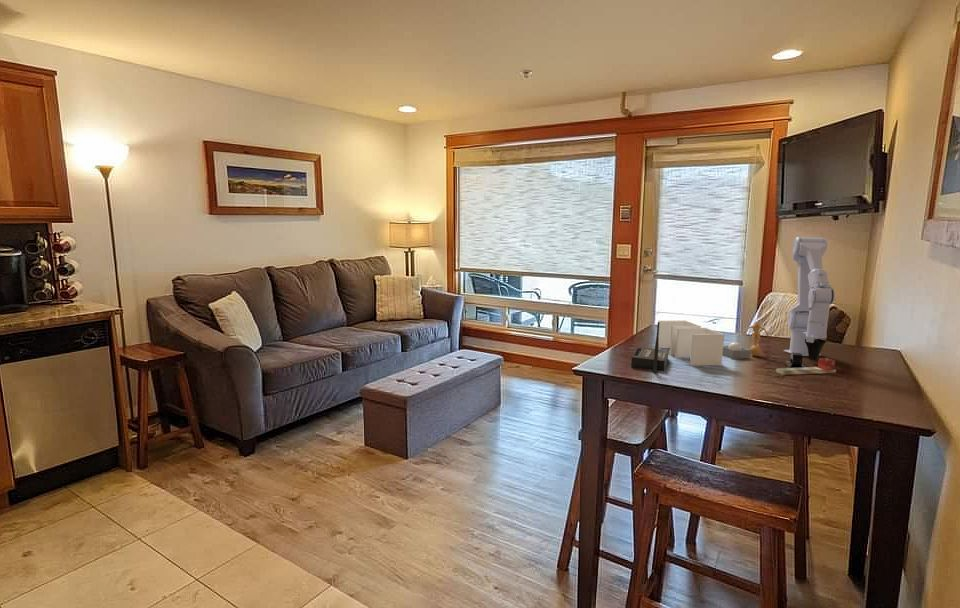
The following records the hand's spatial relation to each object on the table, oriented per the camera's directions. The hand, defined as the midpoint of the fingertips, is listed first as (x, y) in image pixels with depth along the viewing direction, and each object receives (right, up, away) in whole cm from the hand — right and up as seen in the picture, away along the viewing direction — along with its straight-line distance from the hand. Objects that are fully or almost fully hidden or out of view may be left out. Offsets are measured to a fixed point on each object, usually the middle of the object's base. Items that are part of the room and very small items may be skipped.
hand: (813, 359), depth 177 cm
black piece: (-7, -2, -2) cm, 8 cm away
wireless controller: (-59, -2, -5) cm, 60 cm away
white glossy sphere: (-23, +1, +9) cm, 25 cm away
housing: (-23, 0, +9) cm, 25 cm away
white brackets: (-41, 0, +8) cm, 42 cm away
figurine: (-15, 0, +11) cm, 18 cm away
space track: (-10, -3, -11) cm, 15 cm away
